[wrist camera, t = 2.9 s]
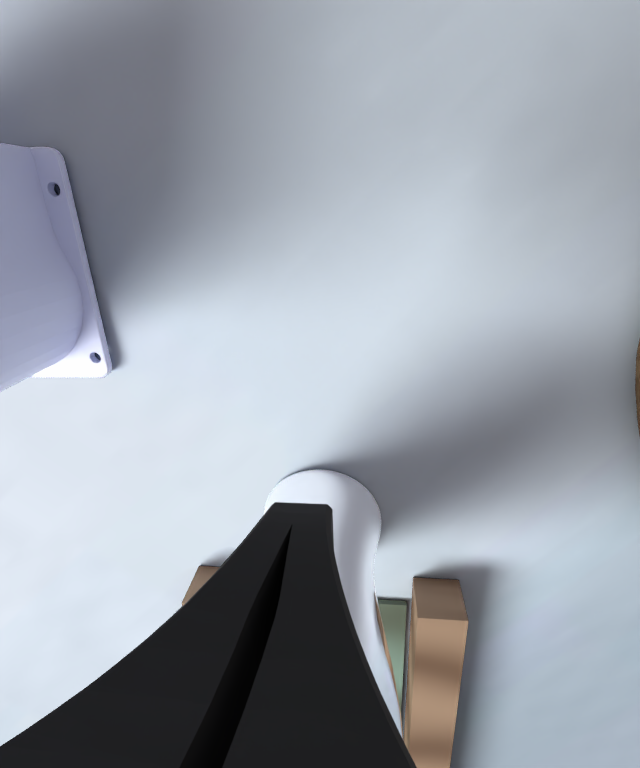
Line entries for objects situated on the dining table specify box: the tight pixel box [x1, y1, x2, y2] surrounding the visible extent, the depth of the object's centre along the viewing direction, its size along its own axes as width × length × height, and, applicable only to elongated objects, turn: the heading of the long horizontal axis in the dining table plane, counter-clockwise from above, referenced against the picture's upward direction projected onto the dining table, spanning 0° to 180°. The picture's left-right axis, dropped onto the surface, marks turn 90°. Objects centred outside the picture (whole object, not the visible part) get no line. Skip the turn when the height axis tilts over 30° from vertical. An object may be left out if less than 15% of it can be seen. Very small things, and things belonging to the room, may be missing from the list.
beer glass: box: [263, 469, 403, 739], centre depth 16 cm, size 7×7×15 cm
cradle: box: [182, 566, 468, 768], centre depth 26 cm, size 21×14×4 cm
